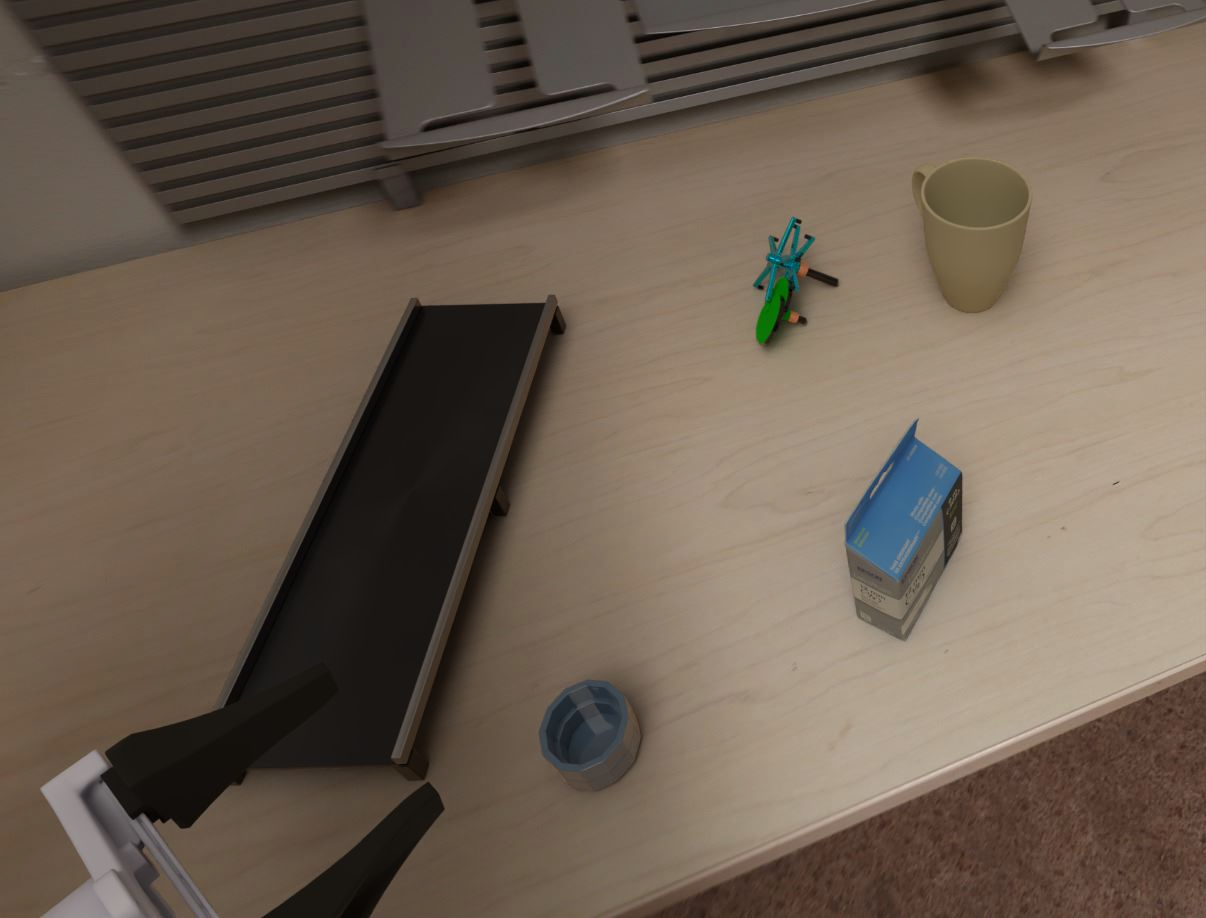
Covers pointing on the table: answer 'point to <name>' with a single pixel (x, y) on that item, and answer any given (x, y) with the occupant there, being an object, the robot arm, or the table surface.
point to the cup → (590, 735)
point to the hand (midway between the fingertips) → (382, 733)
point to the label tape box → (903, 535)
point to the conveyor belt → (395, 535)
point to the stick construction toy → (784, 282)
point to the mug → (972, 226)
